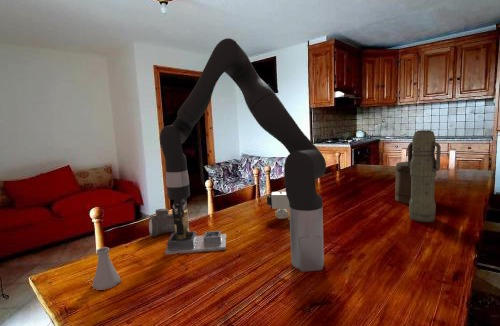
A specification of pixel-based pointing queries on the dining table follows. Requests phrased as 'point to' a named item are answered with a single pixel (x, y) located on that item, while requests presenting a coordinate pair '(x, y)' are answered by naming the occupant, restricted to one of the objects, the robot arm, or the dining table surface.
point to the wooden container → (403, 183)
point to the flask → (105, 271)
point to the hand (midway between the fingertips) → (182, 231)
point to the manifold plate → (196, 243)
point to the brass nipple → (185, 225)
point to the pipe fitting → (161, 222)
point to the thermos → (423, 175)
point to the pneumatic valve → (279, 203)
